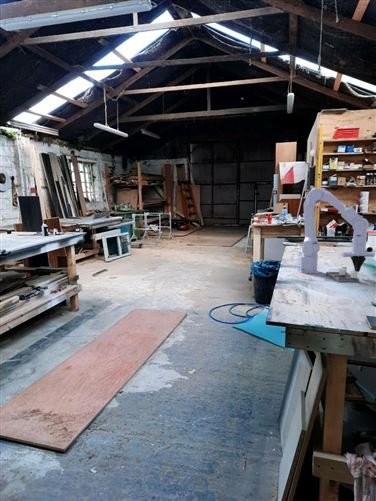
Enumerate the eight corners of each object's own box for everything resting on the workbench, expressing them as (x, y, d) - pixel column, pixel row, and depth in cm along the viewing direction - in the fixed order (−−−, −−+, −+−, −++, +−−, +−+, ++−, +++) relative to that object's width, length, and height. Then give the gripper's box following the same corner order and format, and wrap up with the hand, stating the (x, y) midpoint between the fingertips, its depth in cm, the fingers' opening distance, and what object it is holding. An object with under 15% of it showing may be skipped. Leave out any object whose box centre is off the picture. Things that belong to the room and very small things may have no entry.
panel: (337, 281, 151) (337, 278, 151) (325, 274, 165) (326, 271, 165) (359, 281, 151) (359, 278, 151) (345, 274, 165) (345, 271, 164)
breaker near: (352, 277, 151) (353, 272, 151) (350, 276, 153) (350, 271, 153) (356, 277, 151) (357, 272, 151) (354, 276, 153) (355, 271, 153)
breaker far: (342, 272, 162) (342, 266, 161) (340, 271, 164) (340, 265, 164) (346, 272, 162) (346, 266, 161) (344, 271, 164) (344, 265, 164)
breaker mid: (340, 275, 157) (341, 269, 156) (339, 273, 159) (339, 268, 158) (345, 275, 157) (345, 269, 156) (343, 273, 159) (343, 268, 158)
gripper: (347, 245, 151) (345, 273, 153) (379, 245, 151) (376, 273, 153) (341, 242, 158) (339, 269, 160) (371, 242, 157) (368, 269, 160)
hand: (357, 271), depth 157 cm, fingers closed
